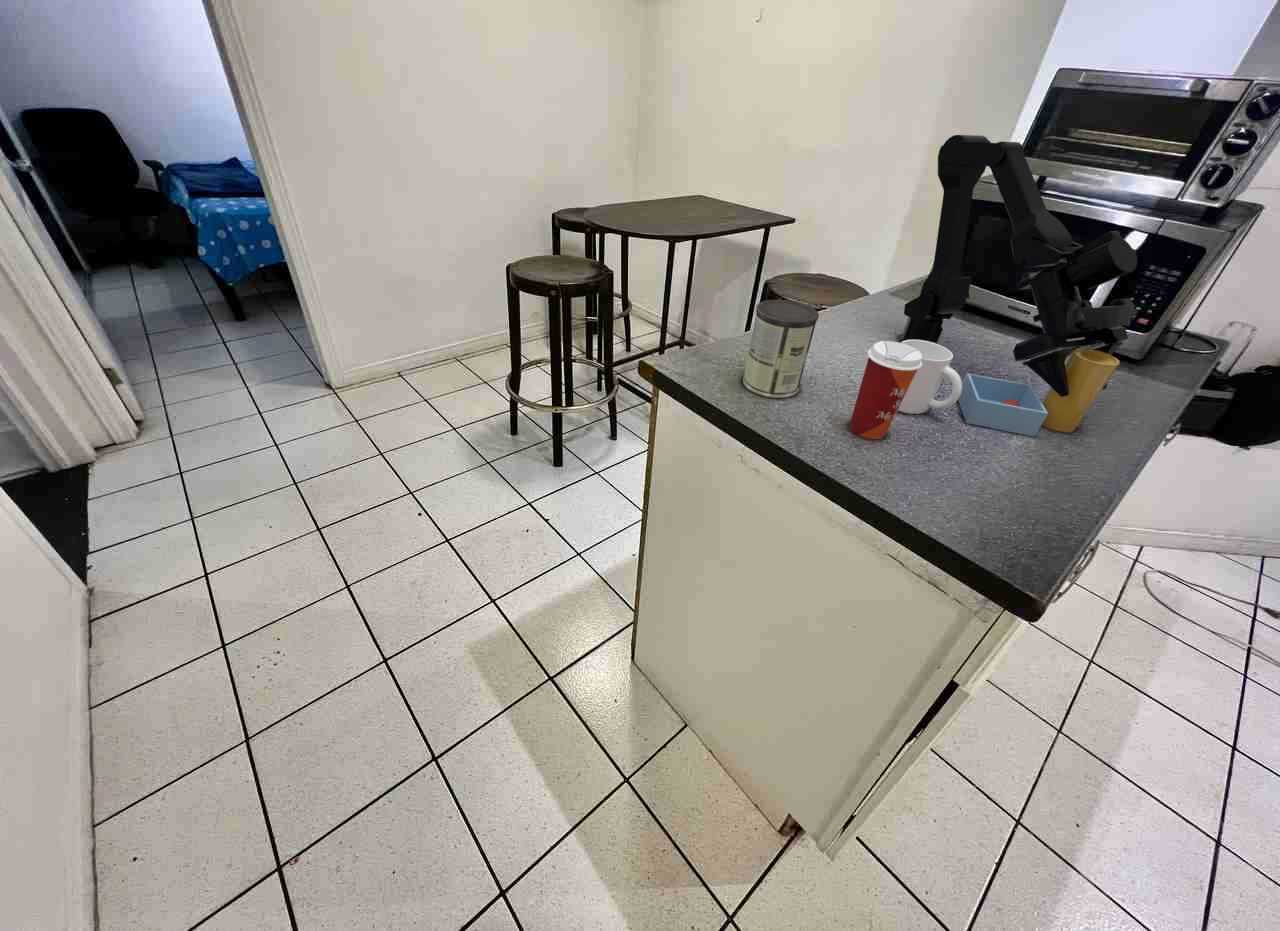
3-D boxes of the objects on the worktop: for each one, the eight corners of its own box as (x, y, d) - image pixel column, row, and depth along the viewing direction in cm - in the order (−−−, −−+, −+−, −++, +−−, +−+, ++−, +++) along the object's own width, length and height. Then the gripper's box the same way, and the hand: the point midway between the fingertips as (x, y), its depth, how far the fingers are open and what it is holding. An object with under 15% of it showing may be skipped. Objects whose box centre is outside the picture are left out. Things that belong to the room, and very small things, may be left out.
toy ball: (999, 398, 92) (995, 415, 92) (1002, 397, 89) (998, 414, 89) (1019, 401, 91) (1015, 418, 91) (1023, 399, 88) (1019, 417, 88)
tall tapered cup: (1039, 427, 89) (1080, 360, 82) (1029, 410, 94) (1068, 345, 86) (1080, 435, 88) (1126, 368, 80) (1068, 417, 93) (1111, 352, 85)
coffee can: (761, 366, 102) (777, 294, 93) (808, 385, 97) (830, 311, 88) (731, 383, 96) (744, 307, 87) (779, 404, 90) (799, 326, 82)
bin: (965, 423, 89) (977, 400, 86) (956, 394, 97) (966, 373, 94) (1034, 436, 87) (1048, 413, 84) (1018, 406, 95) (1031, 384, 92)
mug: (958, 417, 90) (985, 362, 84) (932, 430, 86) (959, 374, 80) (896, 387, 98) (917, 335, 92) (870, 398, 94) (890, 345, 88)
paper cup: (886, 448, 81) (921, 367, 73) (837, 432, 84) (865, 351, 76) (896, 426, 87) (929, 348, 78) (849, 412, 90) (876, 334, 81)
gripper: (1070, 282, 77) (1100, 384, 75) (1152, 276, 82) (1181, 371, 81) (1000, 314, 87) (1024, 404, 86) (1077, 307, 93) (1101, 391, 91)
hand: (1084, 392), depth 86 cm, fingers open, 8 cm apart
